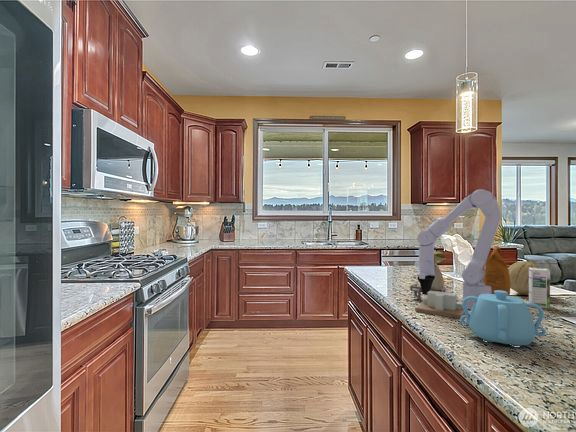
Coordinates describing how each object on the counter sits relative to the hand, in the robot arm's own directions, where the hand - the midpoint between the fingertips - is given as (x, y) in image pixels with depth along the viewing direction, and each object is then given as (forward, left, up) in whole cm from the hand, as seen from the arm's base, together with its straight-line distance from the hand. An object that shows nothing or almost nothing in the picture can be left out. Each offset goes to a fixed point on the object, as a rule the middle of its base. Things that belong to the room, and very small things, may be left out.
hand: (426, 293), depth 133 cm
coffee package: (-23, -16, -3) cm, 28 cm away
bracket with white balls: (0, -2, -2) cm, 3 cm away
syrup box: (-37, -17, -3) cm, 41 cm away
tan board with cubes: (-8, +12, -3) cm, 15 cm away
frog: (0, -18, -3) cm, 18 cm away
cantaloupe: (-33, -36, -3) cm, 49 cm away
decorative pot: (-27, +32, -3) cm, 42 cm away
